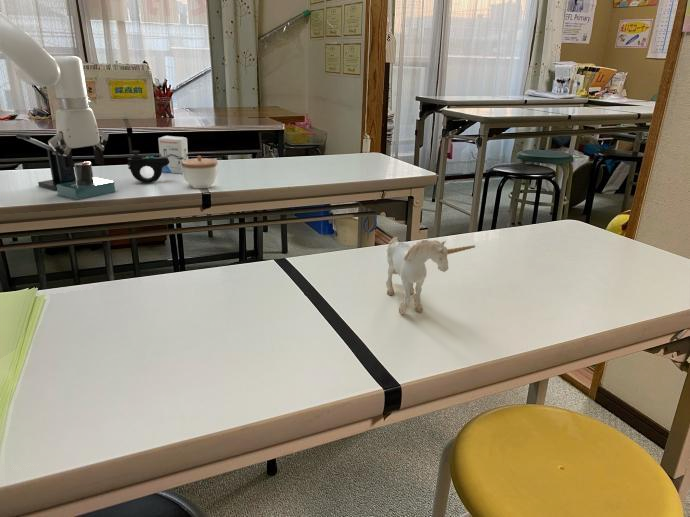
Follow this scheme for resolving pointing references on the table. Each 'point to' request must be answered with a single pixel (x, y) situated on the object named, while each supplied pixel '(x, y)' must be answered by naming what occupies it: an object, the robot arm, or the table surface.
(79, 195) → the dial panel
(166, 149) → the ink box
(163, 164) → the black holed piece
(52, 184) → the toaster bracket
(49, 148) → the lever
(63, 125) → the robot arm
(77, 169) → the dial
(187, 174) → the trinket box
